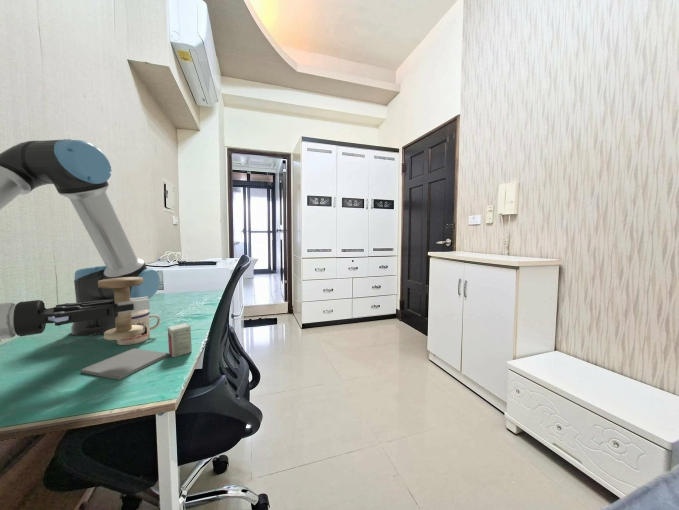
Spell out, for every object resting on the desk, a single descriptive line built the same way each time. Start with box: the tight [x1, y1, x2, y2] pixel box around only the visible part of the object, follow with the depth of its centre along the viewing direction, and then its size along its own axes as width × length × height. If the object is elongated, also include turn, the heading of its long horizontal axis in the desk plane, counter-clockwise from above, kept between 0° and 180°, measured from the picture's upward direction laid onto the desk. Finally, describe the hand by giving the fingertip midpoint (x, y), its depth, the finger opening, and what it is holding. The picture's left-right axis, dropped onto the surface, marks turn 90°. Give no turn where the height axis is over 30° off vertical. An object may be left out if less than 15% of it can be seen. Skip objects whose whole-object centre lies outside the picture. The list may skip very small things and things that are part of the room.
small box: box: [167, 322, 192, 358], centre depth 77 cm, size 5×4×8 cm
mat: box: [80, 347, 170, 381], centre depth 71 cm, size 13×13×1 cm
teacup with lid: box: [114, 309, 161, 346], centre depth 87 cm, size 12×9×12 cm
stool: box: [98, 277, 143, 341], centre depth 69 cm, size 9×9×14 cm
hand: (148, 302), depth 73 cm, fingers closed on stool, 3 cm apart
